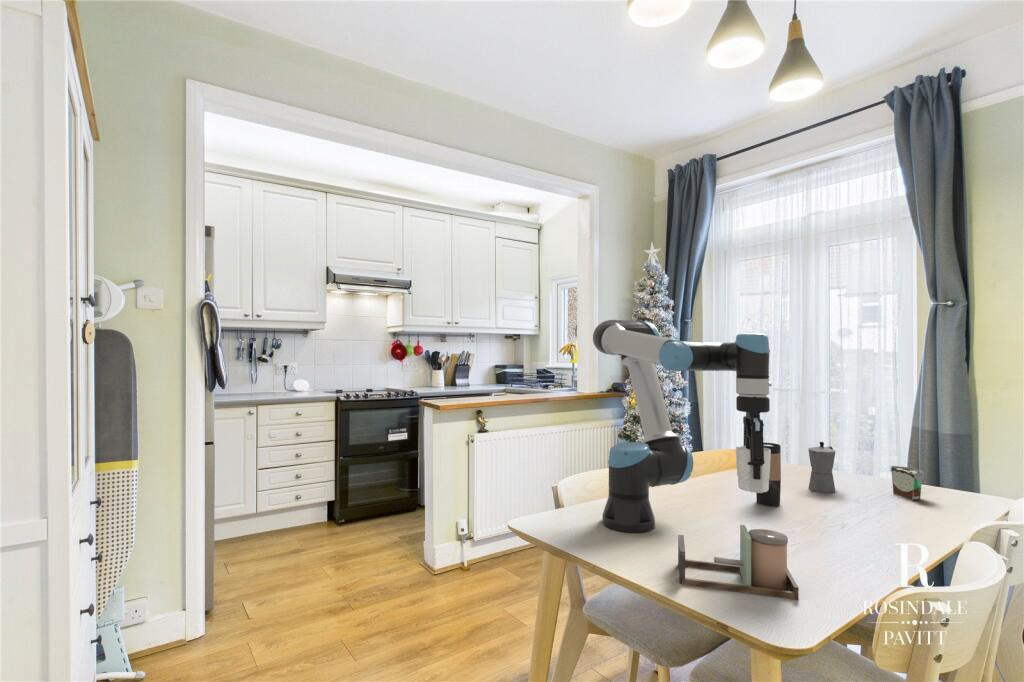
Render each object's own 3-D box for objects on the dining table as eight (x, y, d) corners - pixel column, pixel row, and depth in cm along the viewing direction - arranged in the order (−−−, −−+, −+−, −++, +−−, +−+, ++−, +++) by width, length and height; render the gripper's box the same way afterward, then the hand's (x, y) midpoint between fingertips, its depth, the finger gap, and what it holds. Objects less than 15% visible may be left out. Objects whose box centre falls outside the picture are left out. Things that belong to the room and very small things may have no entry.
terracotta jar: (751, 589, 111) (751, 539, 111) (745, 574, 118) (745, 527, 118) (791, 595, 108) (791, 543, 109) (783, 579, 116) (783, 531, 116)
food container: (933, 502, 178) (933, 473, 178) (915, 502, 178) (915, 473, 178) (907, 493, 190) (907, 465, 191) (890, 492, 191) (890, 465, 191)
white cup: (775, 494, 123) (774, 452, 123) (739, 492, 124) (739, 450, 125) (765, 486, 131) (765, 446, 131) (732, 484, 132) (732, 445, 132)
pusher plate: (715, 584, 112) (716, 534, 112) (712, 568, 121) (712, 522, 121) (751, 589, 110) (751, 538, 110) (744, 572, 119) (744, 525, 119)
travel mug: (781, 502, 176) (781, 443, 177) (779, 508, 170) (779, 447, 170) (757, 498, 180) (757, 441, 181) (754, 504, 174) (754, 444, 174)
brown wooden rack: (679, 584, 113) (679, 551, 113) (678, 563, 124) (678, 534, 124) (798, 599, 106) (798, 565, 106) (785, 576, 117) (785, 545, 118)
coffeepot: (827, 495, 186) (827, 445, 186) (800, 489, 193) (800, 441, 194) (846, 489, 195) (845, 441, 195) (819, 483, 202) (819, 438, 203)
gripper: (778, 399, 117) (778, 500, 117) (761, 393, 137) (762, 480, 136) (742, 398, 120) (743, 497, 119) (731, 392, 139) (731, 478, 138)
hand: (753, 488), depth 127 cm, fingers closed on white cup, 7 cm apart
